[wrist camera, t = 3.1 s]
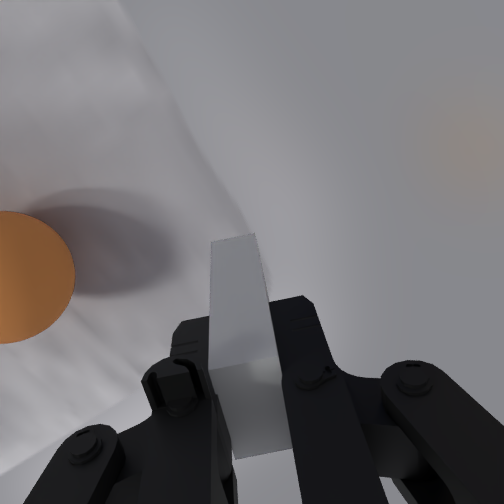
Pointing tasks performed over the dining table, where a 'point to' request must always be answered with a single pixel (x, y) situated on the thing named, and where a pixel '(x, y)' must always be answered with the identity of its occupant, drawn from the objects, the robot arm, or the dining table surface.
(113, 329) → the dining table surface
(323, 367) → the robot arm
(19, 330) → the ball
